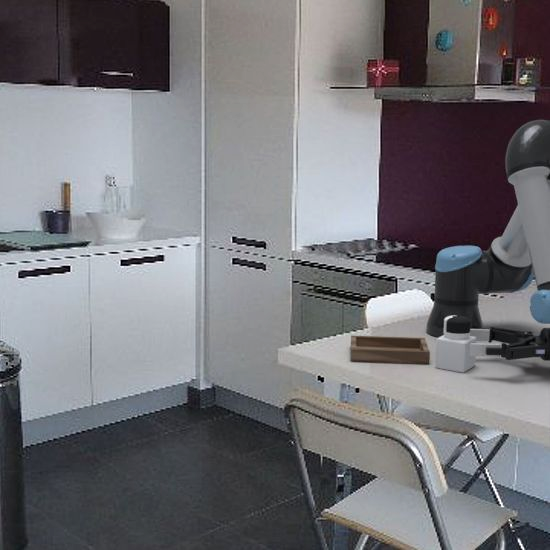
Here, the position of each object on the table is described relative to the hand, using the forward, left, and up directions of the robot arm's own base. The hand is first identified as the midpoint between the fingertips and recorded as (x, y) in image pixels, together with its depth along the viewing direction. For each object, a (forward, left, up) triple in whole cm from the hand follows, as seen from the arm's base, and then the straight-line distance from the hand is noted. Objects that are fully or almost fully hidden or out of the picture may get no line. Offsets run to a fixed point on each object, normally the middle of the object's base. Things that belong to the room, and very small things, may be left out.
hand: (465, 341), depth 195 cm
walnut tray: (-9, -17, -6) cm, 20 cm away
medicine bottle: (-1, -2, -7) cm, 7 cm away
